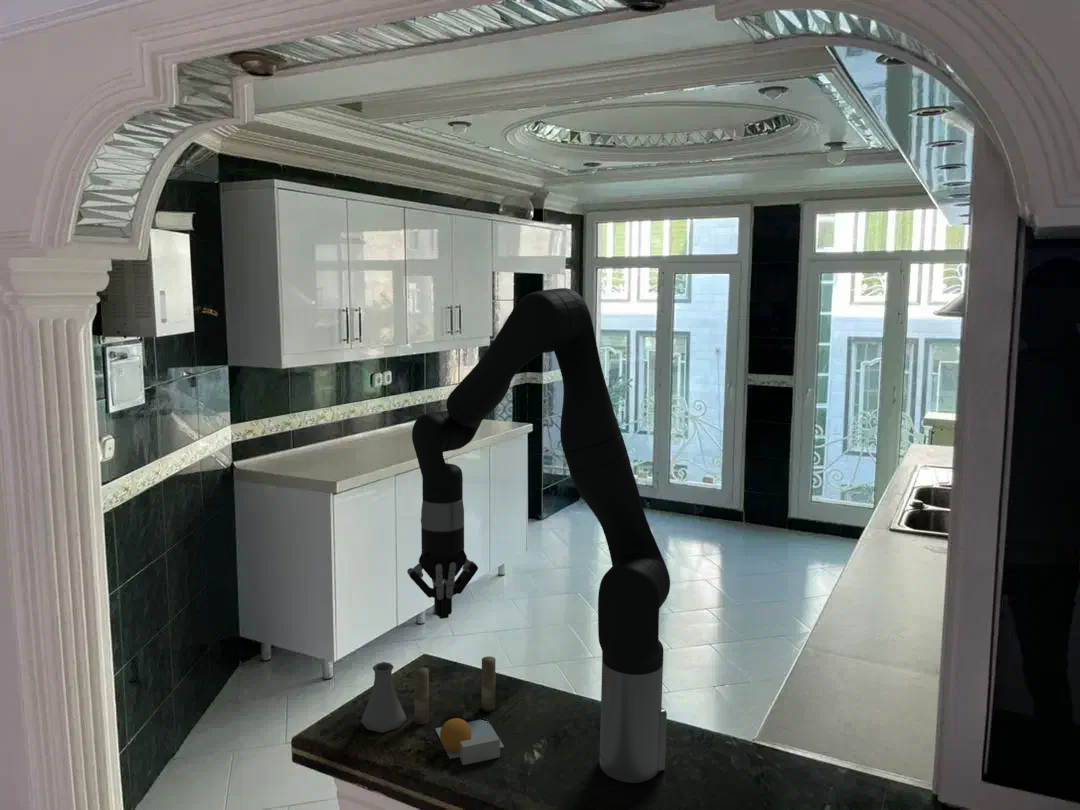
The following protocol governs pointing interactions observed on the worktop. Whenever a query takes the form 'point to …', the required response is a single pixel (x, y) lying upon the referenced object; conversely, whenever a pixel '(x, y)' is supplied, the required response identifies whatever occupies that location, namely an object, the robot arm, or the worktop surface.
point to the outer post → (421, 695)
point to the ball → (454, 734)
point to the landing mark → (474, 734)
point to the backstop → (479, 749)
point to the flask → (383, 702)
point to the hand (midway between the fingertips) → (443, 616)
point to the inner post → (488, 683)
